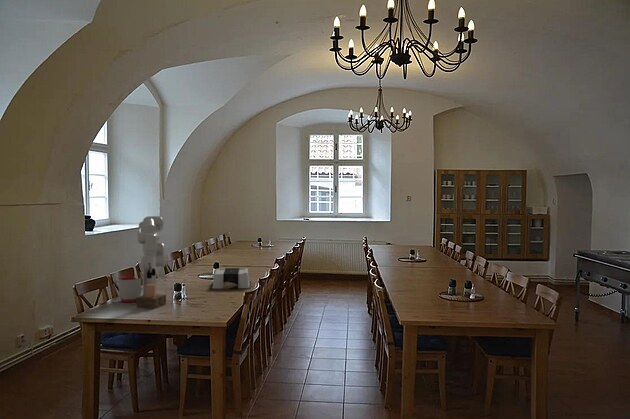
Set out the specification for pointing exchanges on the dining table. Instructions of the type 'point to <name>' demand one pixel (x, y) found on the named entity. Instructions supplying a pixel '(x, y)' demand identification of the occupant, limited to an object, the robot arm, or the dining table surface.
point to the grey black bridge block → (231, 279)
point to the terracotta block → (150, 290)
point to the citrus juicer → (129, 288)
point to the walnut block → (151, 301)
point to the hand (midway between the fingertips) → (151, 276)
